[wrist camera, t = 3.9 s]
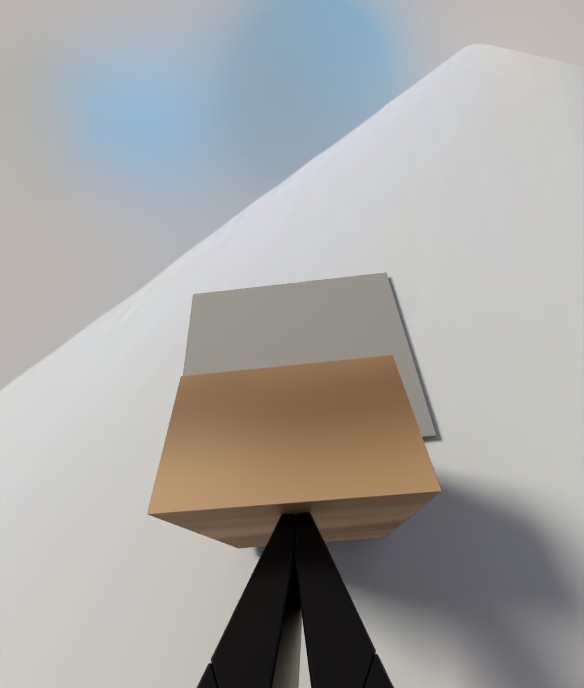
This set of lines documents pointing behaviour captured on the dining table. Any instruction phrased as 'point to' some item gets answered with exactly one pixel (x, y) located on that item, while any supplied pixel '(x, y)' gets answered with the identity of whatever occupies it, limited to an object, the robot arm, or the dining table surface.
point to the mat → (303, 330)
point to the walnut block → (293, 452)
